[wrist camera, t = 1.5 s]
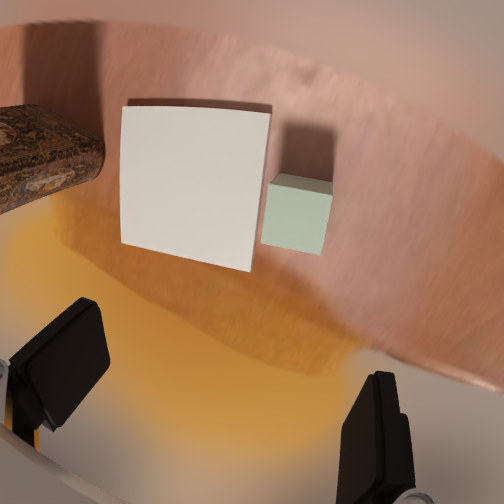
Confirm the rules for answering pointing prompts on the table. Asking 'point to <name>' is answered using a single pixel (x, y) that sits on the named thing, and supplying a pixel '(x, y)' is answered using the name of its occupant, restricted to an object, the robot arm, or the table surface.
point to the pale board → (193, 181)
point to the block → (297, 213)
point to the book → (43, 155)
